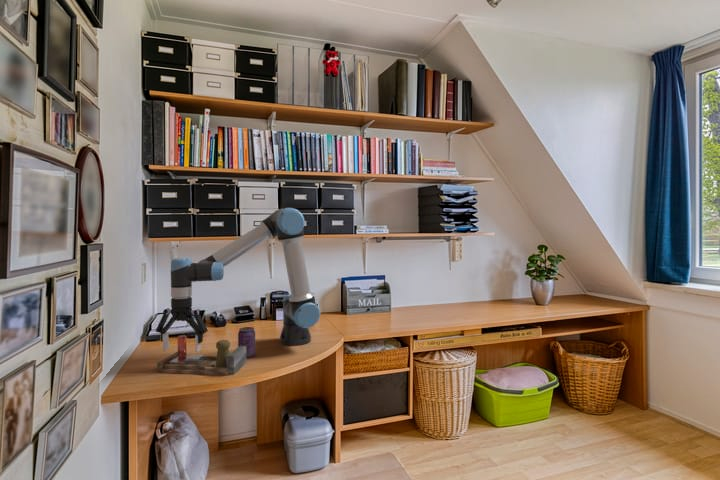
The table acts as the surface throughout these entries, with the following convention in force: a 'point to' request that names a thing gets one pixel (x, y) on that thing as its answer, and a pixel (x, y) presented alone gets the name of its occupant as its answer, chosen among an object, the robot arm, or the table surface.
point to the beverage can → (247, 340)
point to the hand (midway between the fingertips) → (181, 350)
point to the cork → (222, 353)
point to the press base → (206, 364)
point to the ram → (183, 356)
